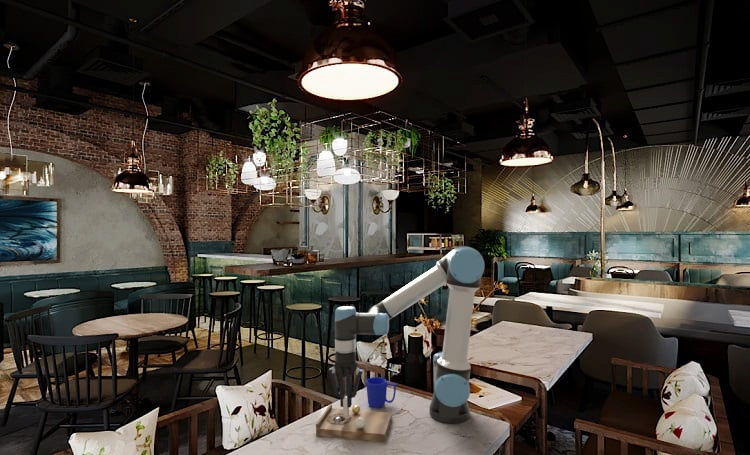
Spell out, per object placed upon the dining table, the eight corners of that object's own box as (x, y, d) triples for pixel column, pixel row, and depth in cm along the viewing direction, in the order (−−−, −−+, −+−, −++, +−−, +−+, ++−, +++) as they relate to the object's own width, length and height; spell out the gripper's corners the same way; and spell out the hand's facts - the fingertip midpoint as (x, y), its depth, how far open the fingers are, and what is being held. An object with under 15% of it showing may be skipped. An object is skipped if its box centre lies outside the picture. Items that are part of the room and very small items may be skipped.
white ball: (366, 426, 139) (366, 415, 139) (364, 430, 136) (363, 420, 136) (356, 425, 140) (356, 415, 140) (354, 430, 136) (353, 419, 137)
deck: (391, 419, 149) (391, 408, 149) (384, 441, 133) (384, 429, 133) (330, 414, 154) (330, 404, 154) (316, 435, 138) (315, 424, 138)
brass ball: (360, 412, 150) (360, 404, 150) (359, 415, 147) (359, 407, 147) (353, 411, 151) (353, 403, 151) (351, 415, 148) (351, 407, 148)
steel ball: (337, 413, 146) (333, 420, 147) (334, 417, 143) (330, 425, 144) (344, 418, 146) (340, 425, 146) (342, 422, 143) (338, 429, 143)
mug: (394, 411, 156) (394, 385, 156) (364, 409, 158) (364, 383, 158) (397, 402, 164) (397, 378, 164) (368, 400, 166) (368, 376, 166)
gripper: (365, 348, 147) (366, 412, 147) (331, 346, 149) (331, 409, 149) (360, 354, 140) (361, 422, 139) (325, 352, 142) (325, 419, 142)
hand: (346, 415), depth 144 cm, fingers closed
